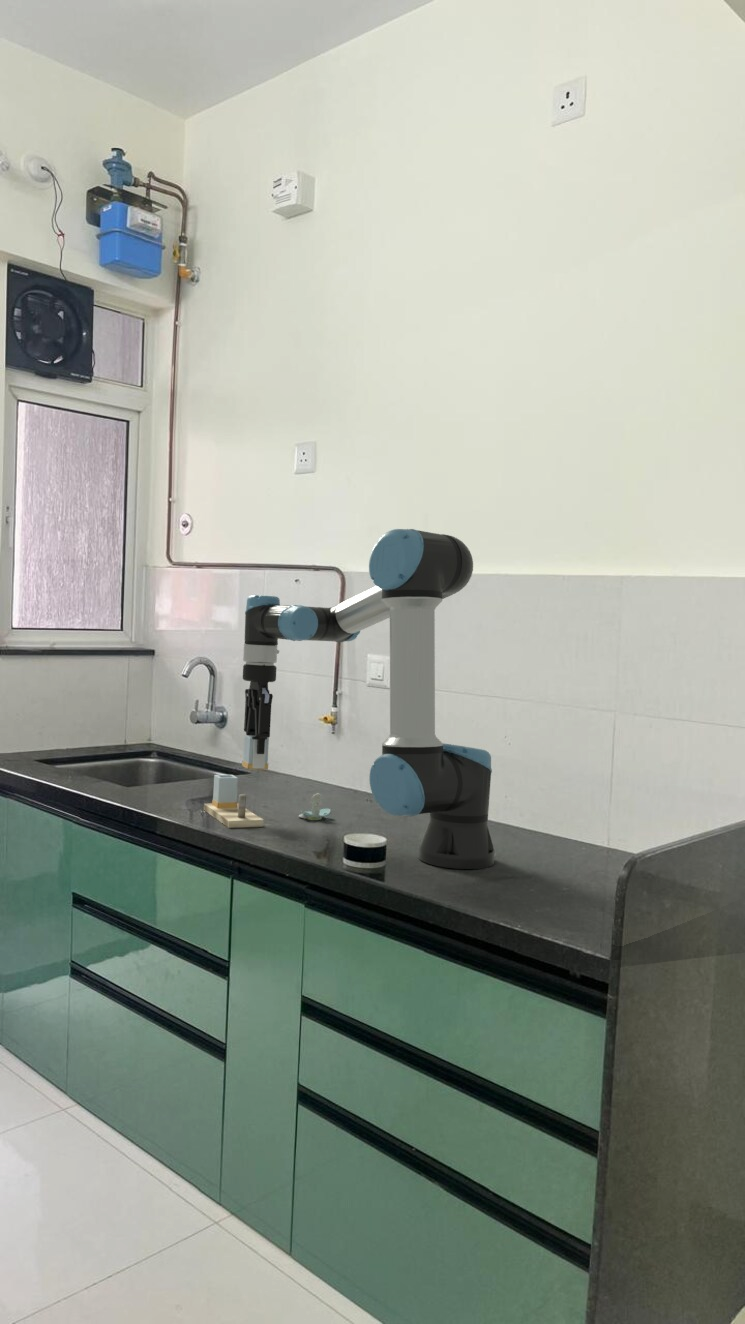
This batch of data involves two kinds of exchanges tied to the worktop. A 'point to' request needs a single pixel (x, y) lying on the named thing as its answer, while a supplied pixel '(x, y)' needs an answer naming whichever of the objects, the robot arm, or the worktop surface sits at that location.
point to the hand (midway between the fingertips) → (254, 766)
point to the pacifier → (315, 809)
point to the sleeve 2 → (249, 753)
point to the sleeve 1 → (225, 791)
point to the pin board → (235, 815)
